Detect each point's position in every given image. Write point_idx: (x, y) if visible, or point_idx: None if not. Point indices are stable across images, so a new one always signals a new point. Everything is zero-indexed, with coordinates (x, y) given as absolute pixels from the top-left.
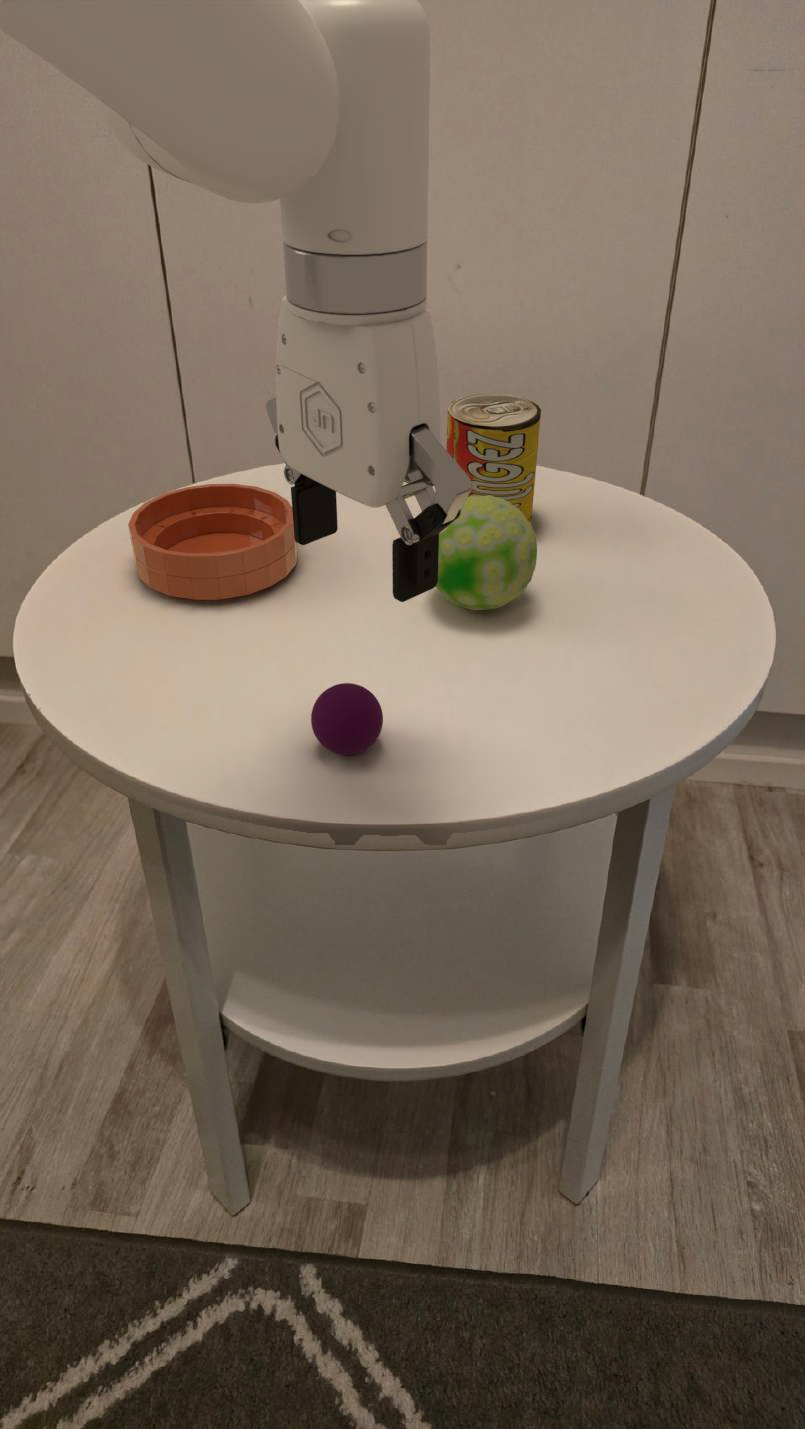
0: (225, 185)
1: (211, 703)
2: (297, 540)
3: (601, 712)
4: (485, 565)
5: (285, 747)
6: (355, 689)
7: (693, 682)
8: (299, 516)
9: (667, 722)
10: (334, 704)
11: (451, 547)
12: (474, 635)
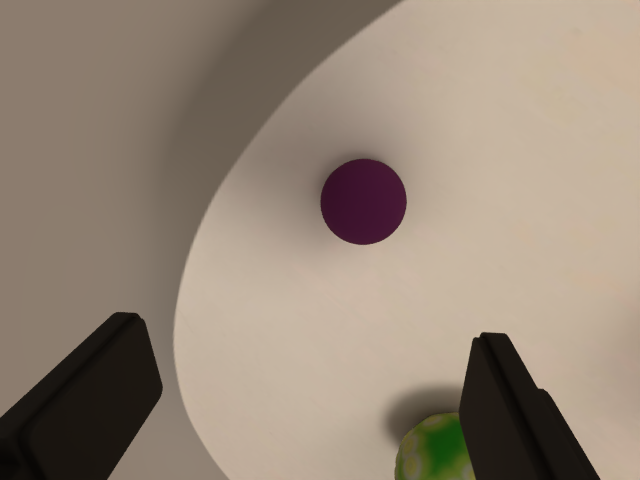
0: None
1: (559, 118)
2: (494, 336)
3: (249, 372)
4: (420, 470)
5: (414, 137)
6: (356, 226)
7: (235, 435)
8: (511, 399)
9: (210, 391)
10: (356, 190)
11: (467, 477)
12: (409, 389)
